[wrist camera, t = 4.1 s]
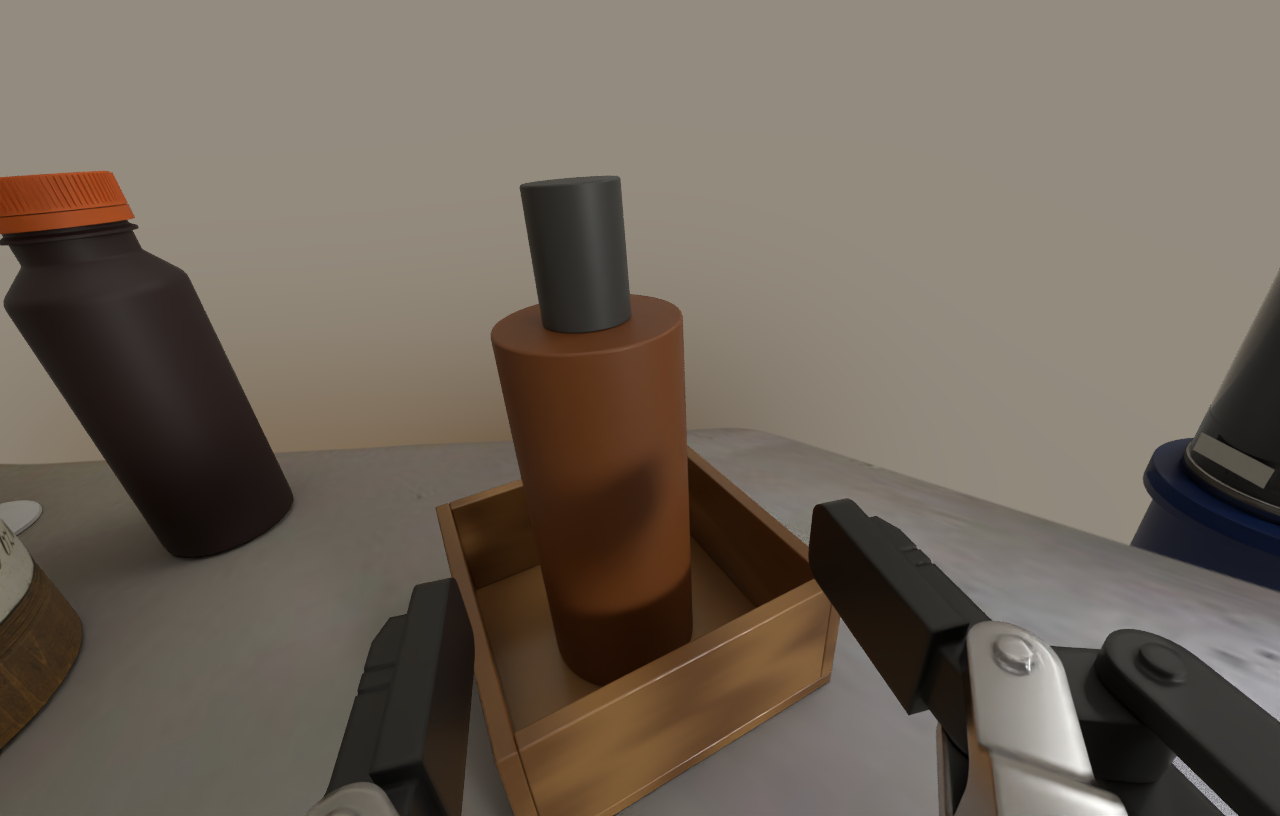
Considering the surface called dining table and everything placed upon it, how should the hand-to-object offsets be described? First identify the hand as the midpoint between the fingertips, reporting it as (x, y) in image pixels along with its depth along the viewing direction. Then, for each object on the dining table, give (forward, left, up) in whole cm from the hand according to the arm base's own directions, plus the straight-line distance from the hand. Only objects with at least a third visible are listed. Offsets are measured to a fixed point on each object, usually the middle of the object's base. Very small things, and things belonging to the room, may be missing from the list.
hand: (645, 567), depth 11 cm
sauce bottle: (-2, -7, -10) cm, 13 cm away
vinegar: (+16, -27, -11) cm, 33 cm away
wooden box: (-2, -7, -11) cm, 13 cm away
